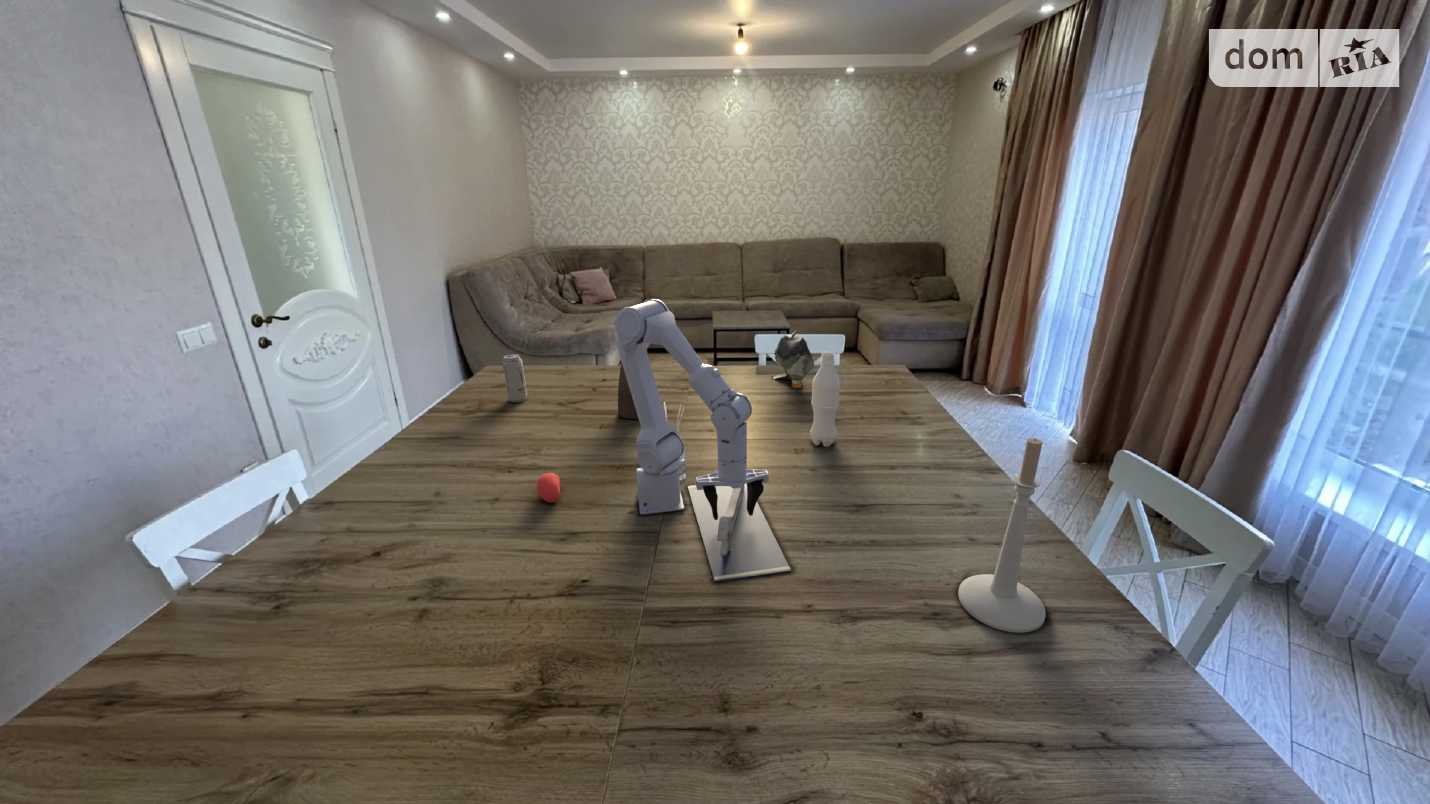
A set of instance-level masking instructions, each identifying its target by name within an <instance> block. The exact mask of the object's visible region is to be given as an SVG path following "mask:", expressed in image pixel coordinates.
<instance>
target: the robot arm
mask: <svg viewBox="0 0 1430 804" xmlns="http://www.w3.org/2000/svg"><path fill="white" fill-rule="evenodd" d="M613 325H614V327H615V331H616V334H617V351H618V354H619V358H620V361H621V363H622V365H623V368H624V371H625V375H626V378H627V381H628V385H629V388H630V391H631V395H632V398H633V401H634V405H635V408H636V412H637V415H638V418H639V419H638V422H639V424H640V430H639V431H640V432H639V433H638V435H637V437H636V440H635V445H636V448H637V449H636V450H637V453H636V458H637V462H638V465H639V466H640V467H638V468H635V472H636V484H637V485H636V487H637V492H636V501H637V502H638V507H639V514H640V515H651V514H661V513H668V512H669V513H670V512H677V511H683V510H685V504H684V500H683V496H682V492H681V483H680V481H681V480H680V462H681V457H682V456H683V454H684V453H685V449H686V446H685V442H684V440H683V438H682V436H681V435H680V434H679V432H678V430H677V427H676V425H675V424H673V423H672V422H669V421H667V420H668V419H667V417H666V414H665V409H664V406H663V402H662V400H661V396H660V393H659V389H658V386H657V381H656V379H655V375H654V371H653V368H652V365H651V361H650V358H649V354H648V348H649V346H650V344H651V345H658V346H659V345H660V346H662V347H663V348H664V349H665V350H666V352H668V354H670V356H672V358H673V359H674V360H675V361H676V362H677V363H678V364H679V365H680V366H681V368H682V369H684V371H685V372H686V373H687V374H688V375H689V386H690V387H691V388H692V389H693V391H694V392H695V393H696V394H697V396H698V397H699V398H700V400H702V401H703V403H704V404H705V406H706V407H707V409H708V410H709V411H710V412H711V413H712V414H711V415H710V420H711V423H712V425H713V427H715V431H716V439H717V440H716V441H717V442H716V443H717V446H716V447H717V471H714V472H711V473H708V474H704V475H701V476H696V477H695V485H696V488H697V490H702V489H703V491H704V494H705V496H706V498H707V500H708V501H709V503H710V505H711V508H712V514H713V518H714V520H718V512H717V499H718V495H717V492H716V488H715V487H716V486H730V487H731V488H733V489H735V488H741V487H742V485H743V484H746V483H747V511H748V514H749V516H752V515H753V511H754V508H755V505H756V502H758V500H759V498H760V497H761V496H762V494H763V492H764V489H765V486H764V484H763V483H769V481H770V475H769V472H768V470H767V469H749V468H748V461H747V460H748V459H747V458H748V423H747V421H748V420H749V419H750V417H751V416H752V414H753V413H752V412H753V408H752V404H751V402H750V400H749V398H748V397H747V395H745V394H743V393H741V392H737V391H736V390H735V389H733V388H732V387H731V386H730V385H729V384H728V382H727V381H726V380H725V379H724V377H723V376H722V372H721V371H720V370H719V369H718V368H715V366H713V364H707V363H704V362H703V361H702V360H701V358H700V357H699V355H698V354H697V352H696V351H695V349H694V348H693V346H692V345H691V344H690V343H689V341H688V340H687V338H686V337H685V335H684V334H683V332H682V331H681V330H680V328H679V327H678V325H677V323H676V319H675V315H674V313H673V312H672V311H670V310H669V308H668V306H667V305H666V304H665V303H664V301H662V300H660V299H656V298H652V299H650V300H648V301H646V302H642V303H639V304H635V305H632V306H626V307H624V308H621V310H620V311H619V312H618V314H617V315H616V317H615V319H614V321H613Z"/></svg>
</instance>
